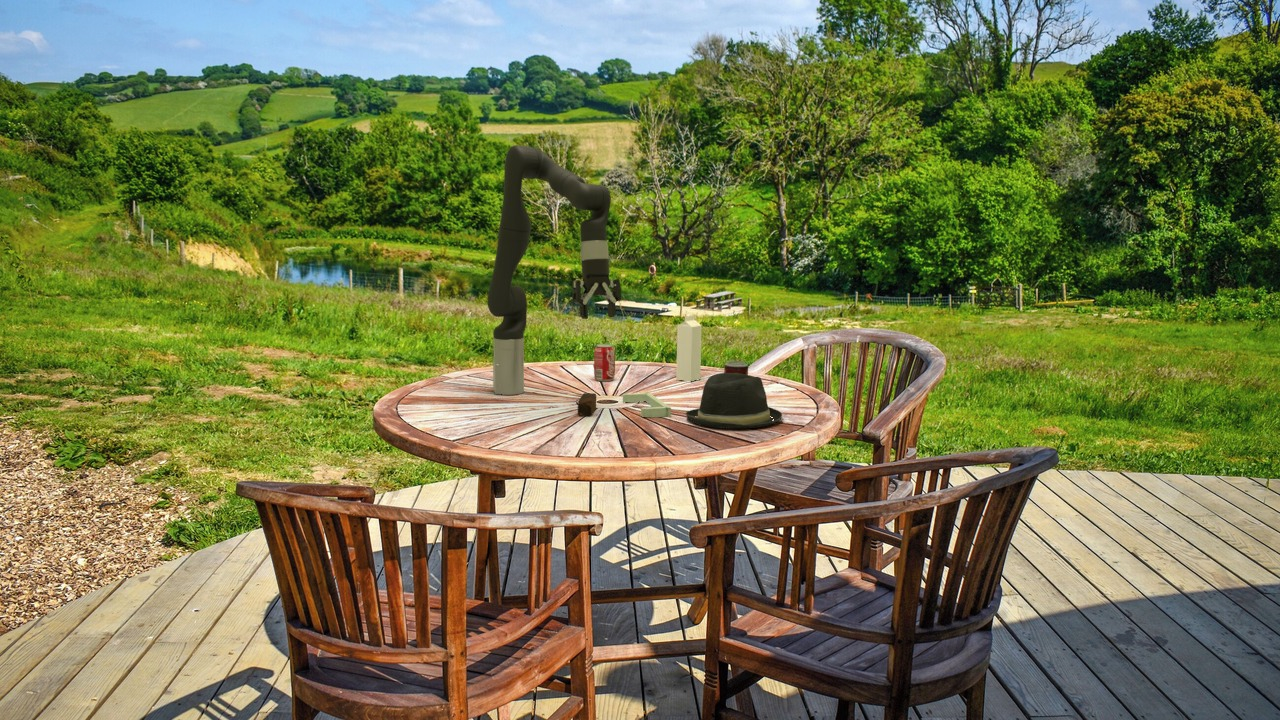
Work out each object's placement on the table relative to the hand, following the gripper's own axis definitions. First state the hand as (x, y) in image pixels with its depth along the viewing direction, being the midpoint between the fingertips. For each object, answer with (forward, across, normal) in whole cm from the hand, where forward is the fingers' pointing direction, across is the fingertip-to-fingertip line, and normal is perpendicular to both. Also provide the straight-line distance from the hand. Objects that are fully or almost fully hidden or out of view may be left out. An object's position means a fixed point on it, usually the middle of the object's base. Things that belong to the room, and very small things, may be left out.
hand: (598, 317), depth 234 cm
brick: (+27, 0, -8) cm, 28 cm away
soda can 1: (+22, -30, -46) cm, 60 cm away
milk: (+24, -55, -32) cm, 67 cm away
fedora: (+30, -30, +20) cm, 47 cm away
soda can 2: (+28, -45, +4) cm, 53 cm away
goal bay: (+27, -16, -3) cm, 32 cm away
